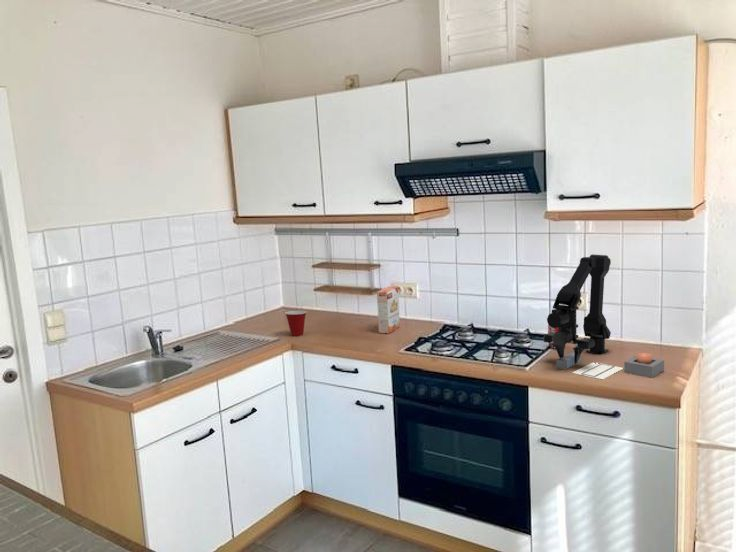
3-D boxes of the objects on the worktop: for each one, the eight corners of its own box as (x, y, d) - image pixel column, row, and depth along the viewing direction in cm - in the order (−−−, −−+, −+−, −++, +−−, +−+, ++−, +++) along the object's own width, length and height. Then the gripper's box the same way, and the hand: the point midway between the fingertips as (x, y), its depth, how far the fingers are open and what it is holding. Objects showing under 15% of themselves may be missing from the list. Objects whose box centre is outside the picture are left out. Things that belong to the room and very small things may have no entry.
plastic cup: (311, 332, 315) (309, 308, 313) (304, 337, 304) (302, 313, 302) (291, 331, 317) (289, 308, 315) (283, 337, 307) (281, 313, 305)
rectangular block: (573, 360, 245) (573, 352, 244) (580, 361, 242) (580, 354, 242) (556, 368, 237) (556, 359, 236) (564, 369, 234) (564, 361, 234)
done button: (640, 362, 230) (640, 351, 229) (654, 364, 226) (654, 353, 226) (634, 365, 227) (634, 354, 226) (648, 367, 223) (648, 357, 222)
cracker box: (389, 334, 301) (387, 291, 298) (378, 333, 304) (375, 291, 300) (400, 327, 314) (398, 286, 310) (389, 326, 316) (387, 286, 313)
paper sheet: (593, 362, 240) (593, 361, 240) (624, 368, 232) (624, 367, 231) (572, 373, 230) (572, 372, 230) (602, 379, 221) (602, 378, 221)
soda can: (566, 349, 259) (565, 321, 257) (548, 349, 261) (548, 321, 259) (565, 345, 266) (565, 317, 264) (548, 344, 268) (547, 317, 266)
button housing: (636, 365, 234) (637, 355, 233) (664, 370, 227) (664, 360, 226) (624, 372, 227) (624, 361, 227) (651, 377, 220) (652, 366, 219)
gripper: (535, 323, 239) (535, 362, 241) (580, 330, 225) (580, 372, 227) (551, 317, 246) (551, 356, 248) (595, 324, 232) (595, 364, 235)
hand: (568, 362), depth 239 cm, fingers open, 6 cm apart
